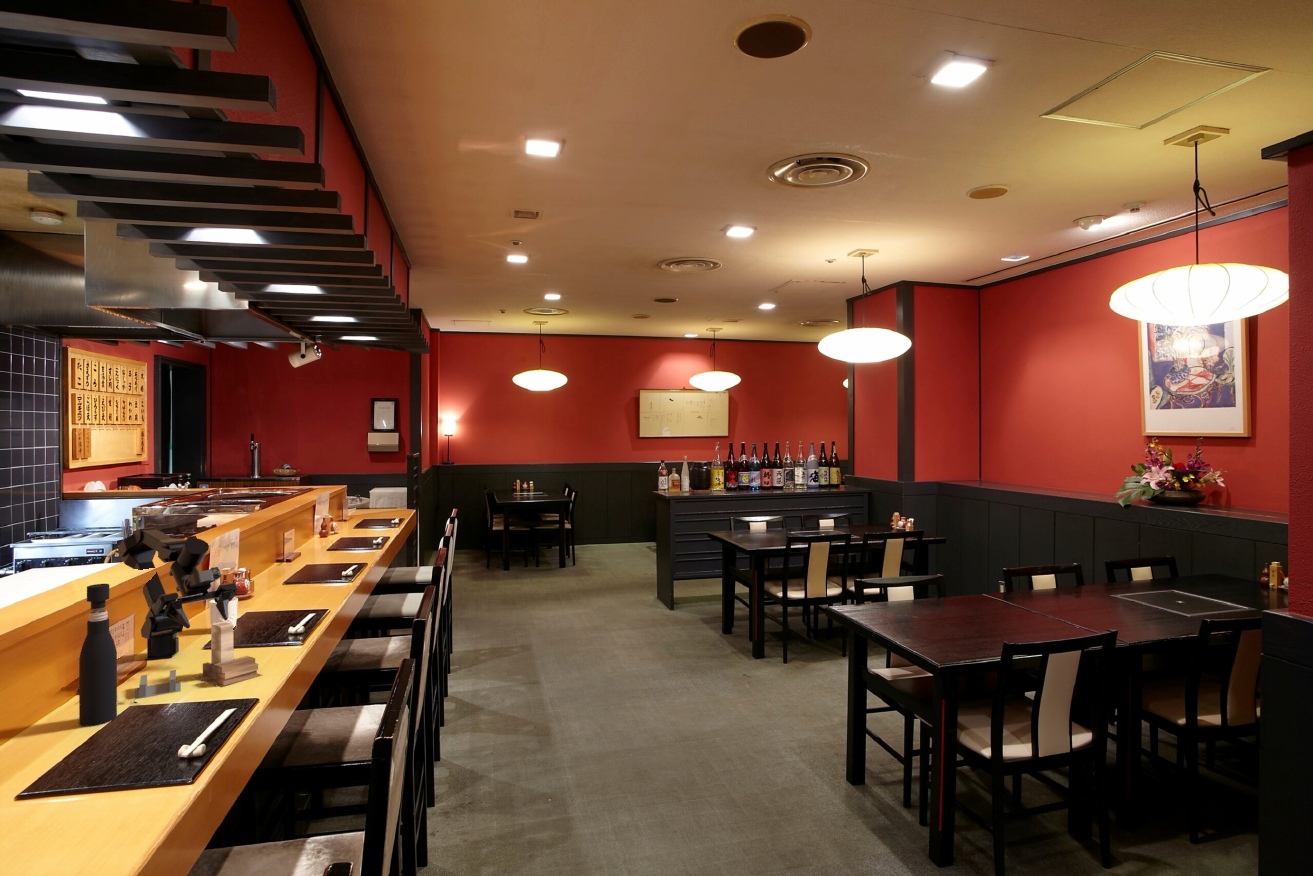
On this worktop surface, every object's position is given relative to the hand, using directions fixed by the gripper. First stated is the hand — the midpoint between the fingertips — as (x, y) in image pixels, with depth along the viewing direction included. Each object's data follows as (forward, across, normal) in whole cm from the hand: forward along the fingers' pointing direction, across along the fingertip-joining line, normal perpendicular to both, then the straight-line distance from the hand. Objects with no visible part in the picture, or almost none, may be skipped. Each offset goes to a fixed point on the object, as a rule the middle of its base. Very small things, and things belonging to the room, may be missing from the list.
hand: (208, 623), depth 178 cm
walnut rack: (+17, 0, +2) cm, 17 cm away
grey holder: (+13, -14, +5) cm, 20 cm away
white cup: (-18, +23, +37) cm, 48 cm away
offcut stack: (+19, 0, -2) cm, 19 cm away
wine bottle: (+18, -28, +1) cm, 33 cm away
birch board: (+14, 0, +3) cm, 14 cm away
